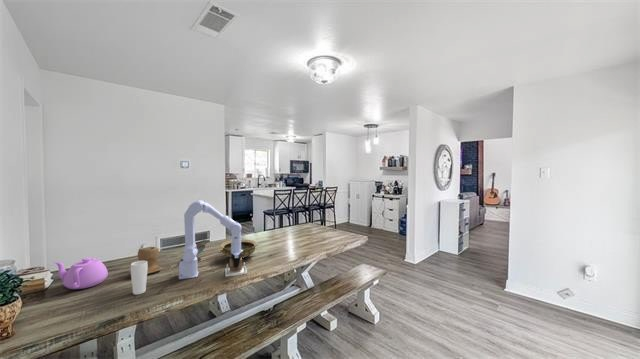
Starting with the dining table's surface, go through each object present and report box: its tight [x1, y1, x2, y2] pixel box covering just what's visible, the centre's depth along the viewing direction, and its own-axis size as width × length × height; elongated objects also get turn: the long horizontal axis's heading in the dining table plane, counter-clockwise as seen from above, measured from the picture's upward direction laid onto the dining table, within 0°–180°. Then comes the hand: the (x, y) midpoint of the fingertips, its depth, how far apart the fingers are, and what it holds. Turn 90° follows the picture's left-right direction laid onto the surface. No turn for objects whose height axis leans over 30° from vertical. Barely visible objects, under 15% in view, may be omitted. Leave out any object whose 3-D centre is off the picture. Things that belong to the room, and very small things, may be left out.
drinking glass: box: [130, 260, 148, 296], centre depth 122 cm, size 7×7×15 cm
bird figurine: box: [177, 239, 211, 265], centre depth 166 cm, size 13×10×20 cm
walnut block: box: [229, 257, 243, 271], centre depth 149 cm, size 7×4×6 cm, turn 111°
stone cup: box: [137, 246, 163, 275], centre depth 145 cm, size 15×12×15 cm
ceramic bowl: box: [217, 238, 259, 258], centre depth 173 cm, size 30×24×10 cm
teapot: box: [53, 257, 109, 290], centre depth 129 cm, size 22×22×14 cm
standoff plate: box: [224, 261, 248, 278], centre depth 149 cm, size 12×10×4 cm
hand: (236, 265), depth 149 cm, fingers closed on walnut block, 4 cm apart
